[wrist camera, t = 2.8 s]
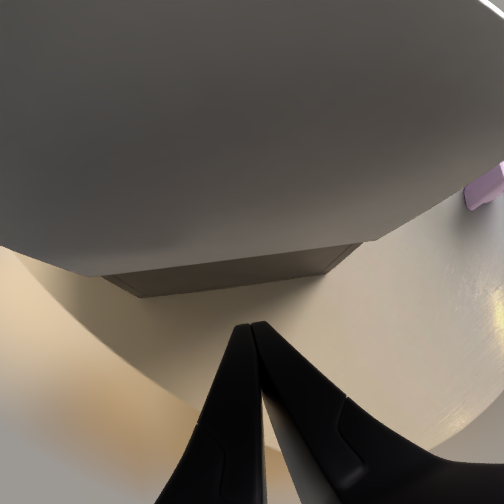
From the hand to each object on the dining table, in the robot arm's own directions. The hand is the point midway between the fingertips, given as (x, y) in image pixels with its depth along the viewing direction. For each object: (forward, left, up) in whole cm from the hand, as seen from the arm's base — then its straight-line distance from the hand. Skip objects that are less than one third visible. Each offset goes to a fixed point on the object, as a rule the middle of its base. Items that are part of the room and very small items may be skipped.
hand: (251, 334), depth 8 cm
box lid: (+3, +2, +2) cm, 4 cm away
